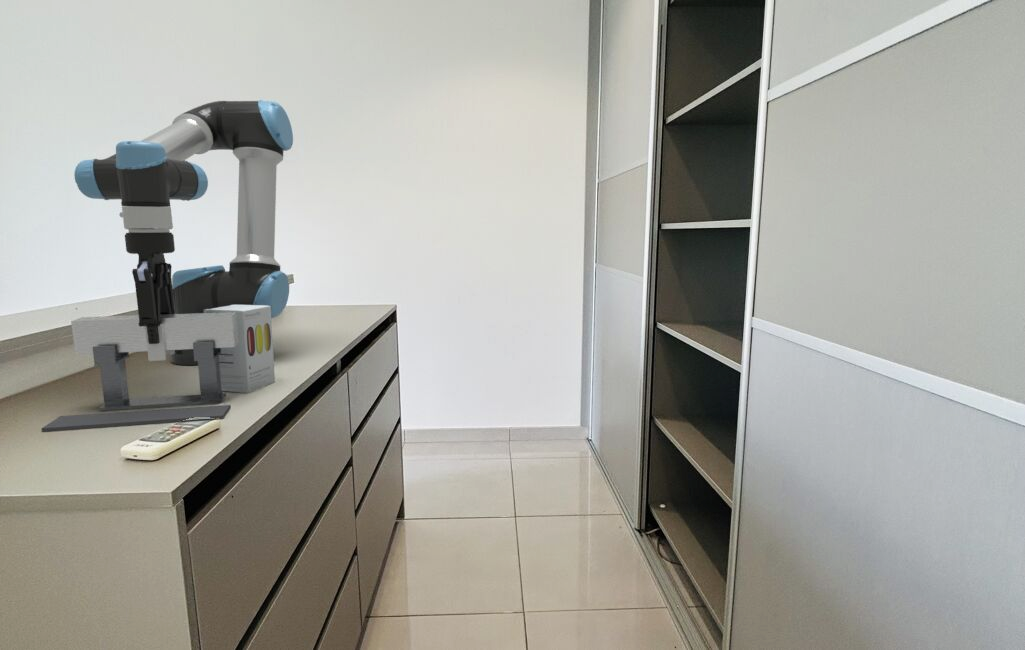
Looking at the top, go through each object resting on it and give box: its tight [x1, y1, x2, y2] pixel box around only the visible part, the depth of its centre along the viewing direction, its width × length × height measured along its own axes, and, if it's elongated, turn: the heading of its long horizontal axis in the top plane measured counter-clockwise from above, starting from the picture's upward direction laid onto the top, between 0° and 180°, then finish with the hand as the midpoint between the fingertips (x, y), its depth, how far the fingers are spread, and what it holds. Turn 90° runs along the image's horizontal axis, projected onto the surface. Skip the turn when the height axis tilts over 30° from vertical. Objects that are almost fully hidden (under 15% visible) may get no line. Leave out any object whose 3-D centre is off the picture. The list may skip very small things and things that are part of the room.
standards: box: [93, 342, 227, 412], centre depth 109 cm, size 7×20×12 cm, turn 105°
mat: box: [41, 404, 232, 433], centre depth 101 cm, size 6×27×1 cm, turn 105°
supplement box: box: [204, 305, 276, 394], centre depth 121 cm, size 10×9×17 cm
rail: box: [70, 312, 239, 355], centre depth 108 cm, size 4×26×6 cm, turn 105°
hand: (162, 356), depth 109 cm, fingers closed on rail, 4 cm apart
